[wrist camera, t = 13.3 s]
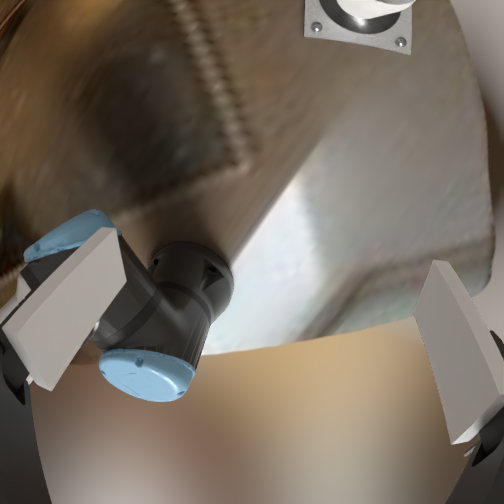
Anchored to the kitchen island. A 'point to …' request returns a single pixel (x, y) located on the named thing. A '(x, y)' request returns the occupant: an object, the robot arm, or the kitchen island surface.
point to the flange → (358, 27)
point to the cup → (373, 7)
